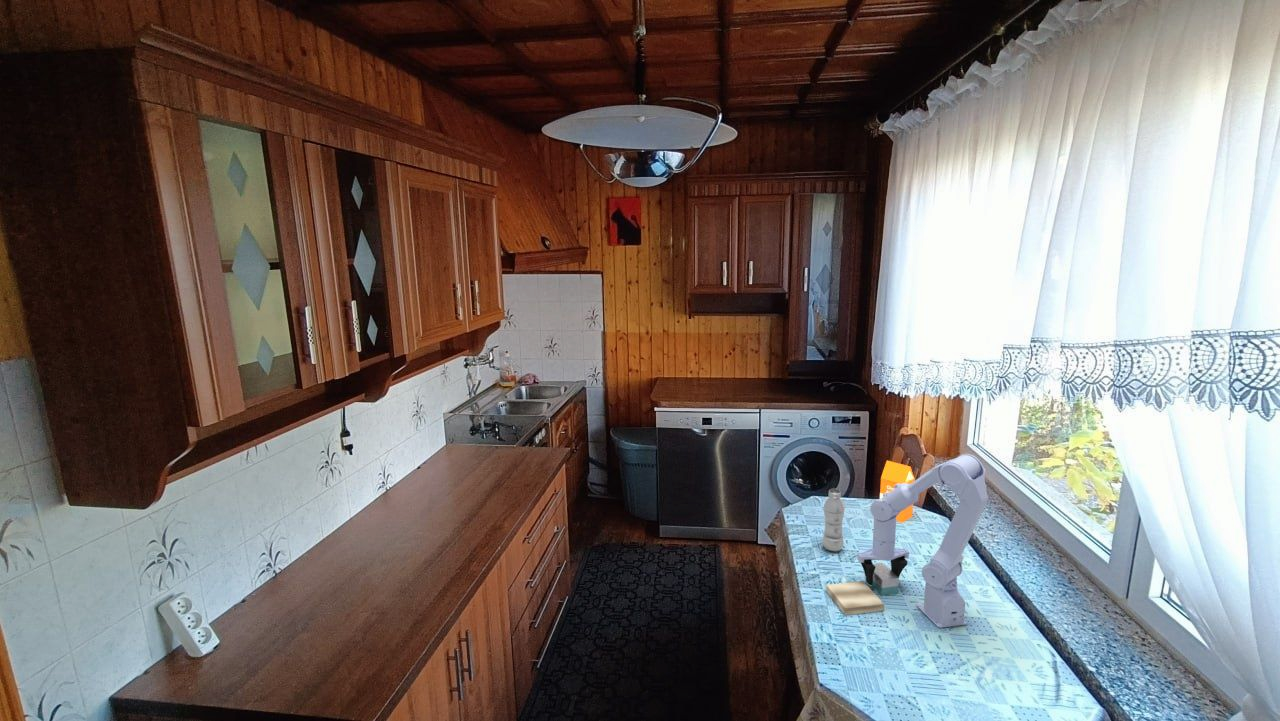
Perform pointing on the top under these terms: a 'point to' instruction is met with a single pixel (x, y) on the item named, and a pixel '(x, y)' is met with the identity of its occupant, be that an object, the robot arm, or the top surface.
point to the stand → (854, 598)
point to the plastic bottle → (833, 521)
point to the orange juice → (896, 475)
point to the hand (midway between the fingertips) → (881, 581)
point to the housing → (884, 580)
